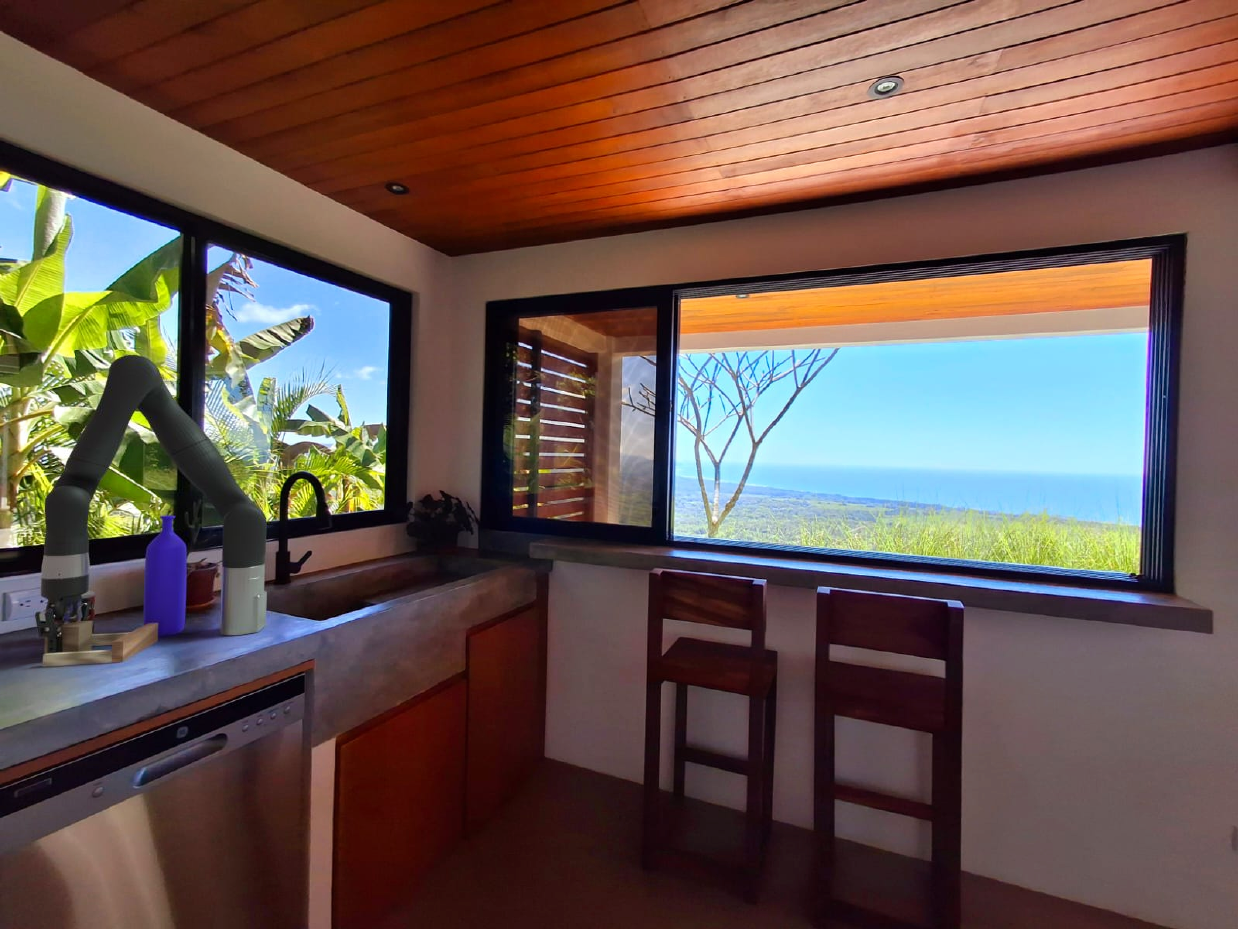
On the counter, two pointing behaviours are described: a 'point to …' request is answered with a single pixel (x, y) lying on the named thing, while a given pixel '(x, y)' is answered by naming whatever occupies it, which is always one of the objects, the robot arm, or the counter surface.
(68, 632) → the block
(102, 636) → the channel
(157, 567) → the bottle
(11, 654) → the counter surface
